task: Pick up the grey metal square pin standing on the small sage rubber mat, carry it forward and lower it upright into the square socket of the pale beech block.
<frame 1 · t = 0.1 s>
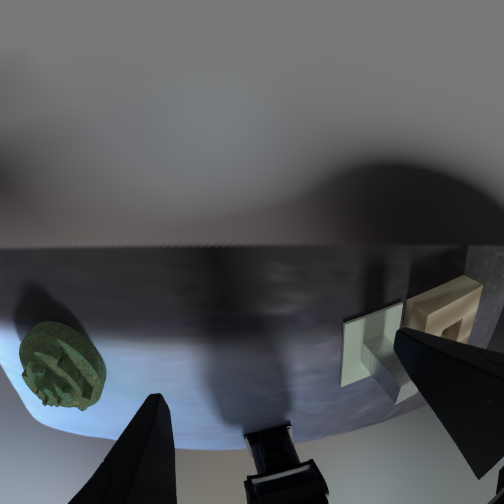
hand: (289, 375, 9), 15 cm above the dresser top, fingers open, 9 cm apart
hole block: (431, 323, 31), on the dresser top
decorative artifact: (66, 358, 23), on the dresser top
pin: (372, 348, 29), resting on mat
mat: (370, 346, 29), on the dresser top
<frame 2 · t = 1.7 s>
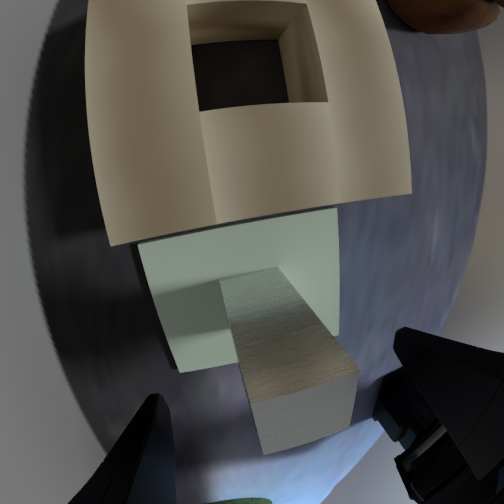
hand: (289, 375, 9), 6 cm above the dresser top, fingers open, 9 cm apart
hole block: (239, 78, 11), on the dresser top
wooden figurine: (406, 10, 11), on the dresser top
pin: (252, 299, 14), resting on mat
mat: (251, 295, 15), on the dresser top
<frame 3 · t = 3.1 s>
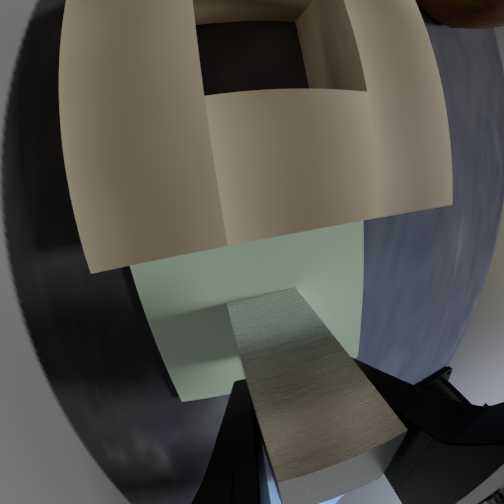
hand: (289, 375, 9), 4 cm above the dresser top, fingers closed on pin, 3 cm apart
hole block: (251, 64, 9), on the dresser top
wooden figurine: (427, 2, 9), on the dresser top
pin: (265, 324, 12), resting on mat, touching gripper
mat: (263, 319, 12), on the dresser top
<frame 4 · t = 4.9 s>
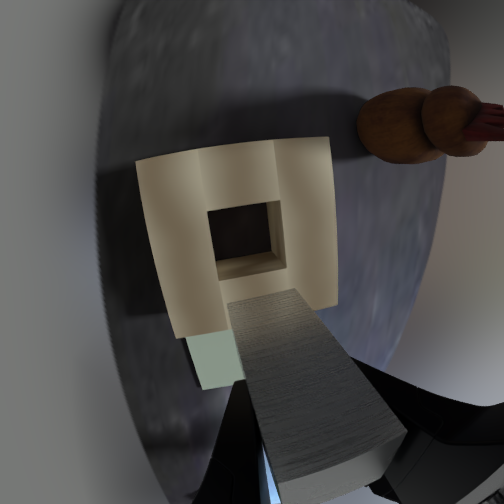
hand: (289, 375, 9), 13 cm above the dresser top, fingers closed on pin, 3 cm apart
hole block: (239, 228, 21), on the dresser top
wooden figurine: (375, 129, 21), on the dresser top
pin: (265, 324, 12), point 10 cm above the dresser top, touching gripper
mat: (246, 348, 24), on the dresser top
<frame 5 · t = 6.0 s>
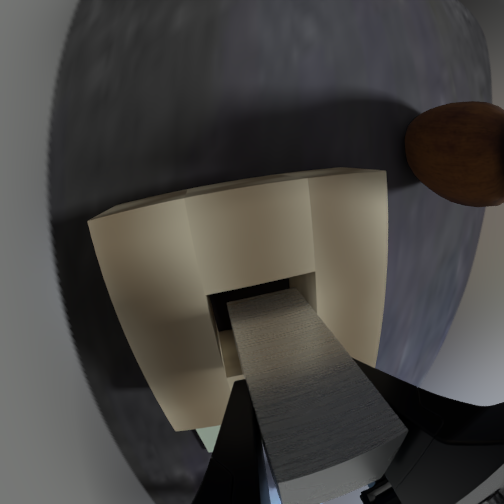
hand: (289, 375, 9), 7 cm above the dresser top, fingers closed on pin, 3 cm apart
hole block: (250, 290, 15), on the dresser top
wooden figurine: (422, 148, 15), on the dresser top
pin: (265, 324, 12), point 3 cm above the dresser top, touching gripper
mat: (257, 414, 19), on the dresser top
when the fingers open (5 cm above the dresser top, at t = 6.9 s): pin drops 2 cm, resting in hole block.
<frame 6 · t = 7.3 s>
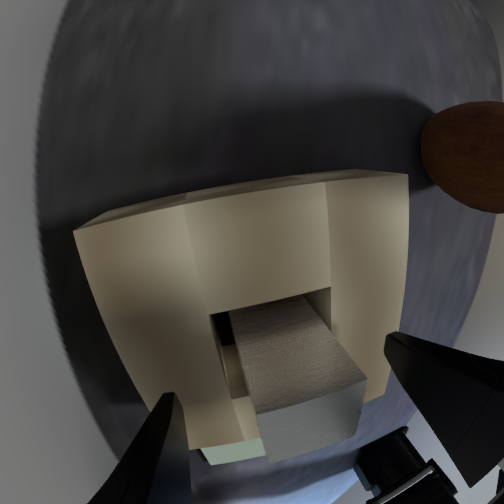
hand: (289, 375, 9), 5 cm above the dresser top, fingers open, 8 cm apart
hole block: (256, 303, 14), on the dresser top
wooden figurine: (437, 149, 14), on the dresser top
pin: (256, 303, 14), resting in hole block
mat: (262, 427, 17), on the dresser top
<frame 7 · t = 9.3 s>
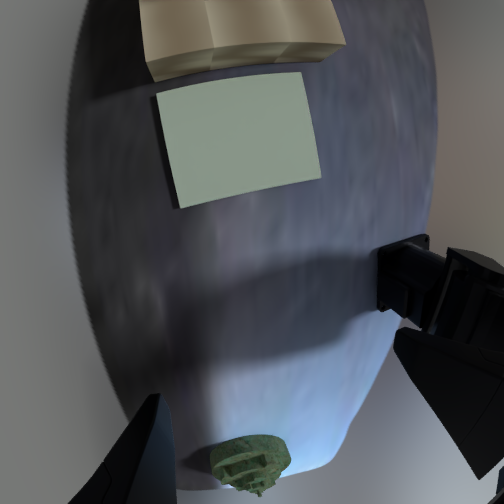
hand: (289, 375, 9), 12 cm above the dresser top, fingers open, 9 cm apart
hole block: (227, 3, 14), on the dresser top
decorative artifact: (247, 452, 28), on the dresser top
mat: (241, 133, 17), on the dresser top
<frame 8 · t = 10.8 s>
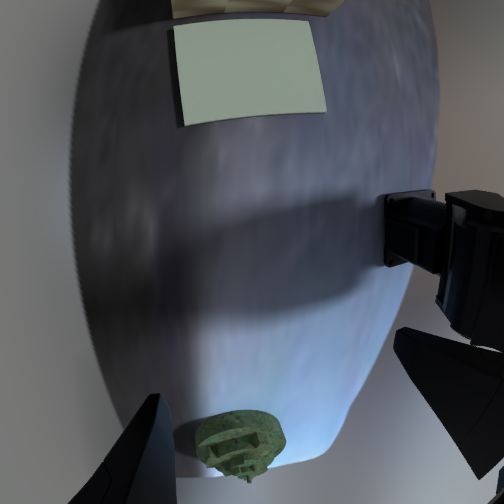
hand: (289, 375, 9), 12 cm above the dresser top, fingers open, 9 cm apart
decorative artifact: (237, 432, 27), on the dresser top
mat: (250, 65, 16), on the dresser top
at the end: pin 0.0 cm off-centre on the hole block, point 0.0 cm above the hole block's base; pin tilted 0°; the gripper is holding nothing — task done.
